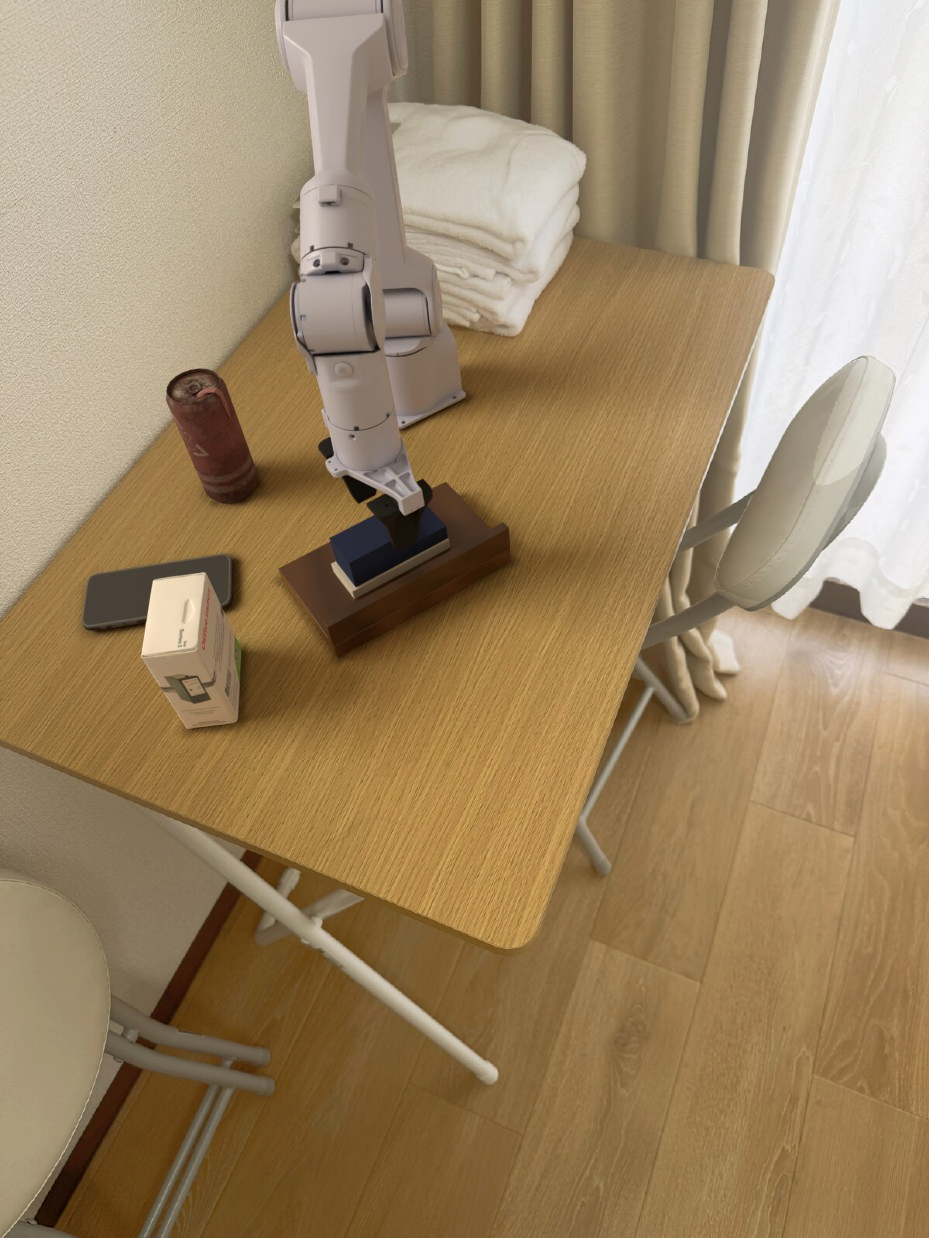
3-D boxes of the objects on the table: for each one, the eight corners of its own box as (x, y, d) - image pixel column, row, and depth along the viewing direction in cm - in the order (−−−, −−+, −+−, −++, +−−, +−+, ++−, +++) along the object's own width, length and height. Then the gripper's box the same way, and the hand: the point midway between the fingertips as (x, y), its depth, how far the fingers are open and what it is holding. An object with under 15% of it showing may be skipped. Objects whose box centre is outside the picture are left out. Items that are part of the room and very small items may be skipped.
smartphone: (231, 605, 90) (79, 629, 90) (233, 610, 91) (82, 635, 91) (231, 550, 95) (86, 573, 94) (234, 556, 96) (90, 579, 95)
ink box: (193, 654, 88) (149, 576, 79) (244, 648, 88) (206, 569, 79) (185, 730, 83) (137, 656, 74) (239, 724, 83) (198, 649, 74)
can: (251, 507, 100) (212, 406, 89) (197, 502, 101) (152, 402, 90) (269, 469, 103) (234, 367, 92) (217, 464, 104) (176, 363, 93)
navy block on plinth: (354, 599, 88) (345, 567, 84) (333, 571, 90) (323, 539, 87) (450, 547, 91) (445, 514, 87) (427, 522, 93) (421, 488, 90)
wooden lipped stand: (447, 494, 98) (442, 460, 95) (511, 561, 92) (509, 527, 88) (282, 581, 93) (270, 548, 89) (338, 659, 86) (327, 627, 82)
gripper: (279, 384, 79) (313, 495, 89) (360, 477, 71) (387, 587, 82) (350, 351, 81) (375, 464, 91) (437, 438, 73) (453, 551, 84)
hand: (385, 520), depth 87 cm, fingers open, 7 cm apart
